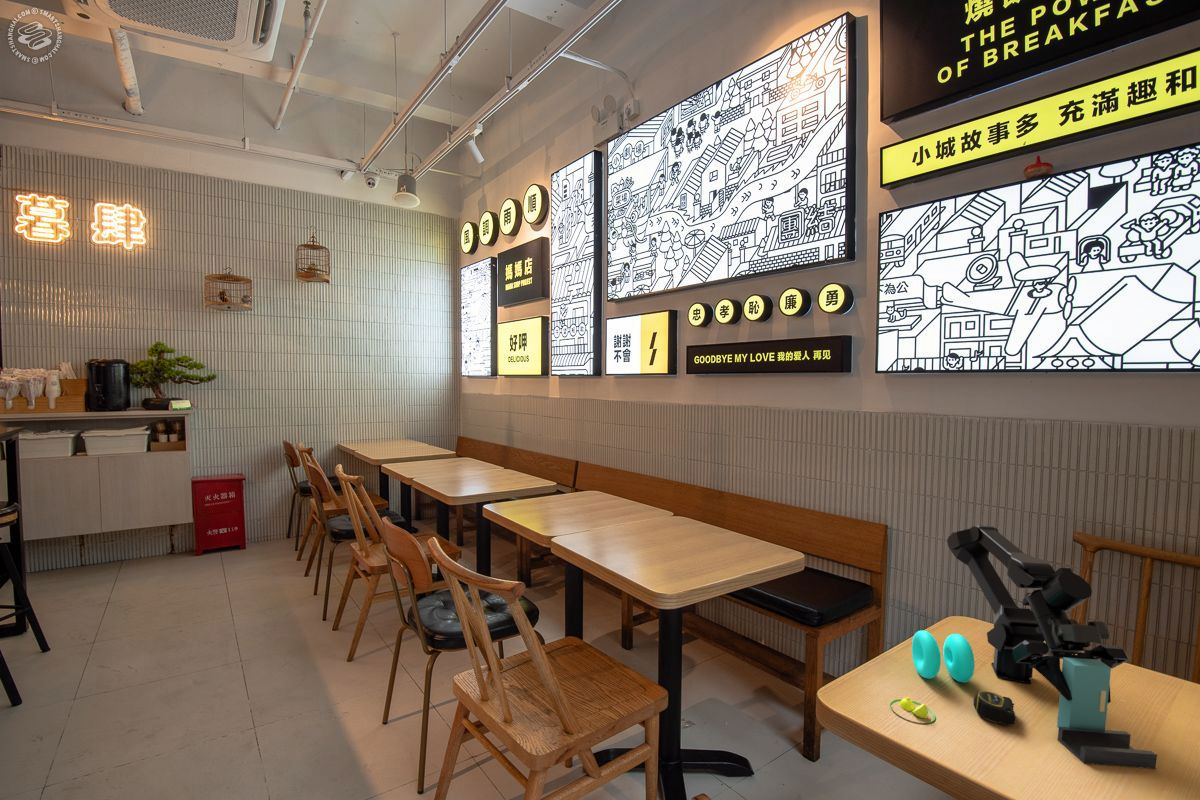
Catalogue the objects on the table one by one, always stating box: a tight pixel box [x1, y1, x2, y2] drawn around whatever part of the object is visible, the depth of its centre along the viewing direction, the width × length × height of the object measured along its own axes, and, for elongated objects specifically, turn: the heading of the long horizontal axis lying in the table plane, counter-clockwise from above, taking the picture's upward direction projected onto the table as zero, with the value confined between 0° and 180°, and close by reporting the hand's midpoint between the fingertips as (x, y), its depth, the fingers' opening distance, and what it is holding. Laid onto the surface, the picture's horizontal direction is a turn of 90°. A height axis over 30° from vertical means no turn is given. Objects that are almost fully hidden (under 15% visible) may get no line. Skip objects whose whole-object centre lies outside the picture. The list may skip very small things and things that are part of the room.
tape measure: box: [973, 690, 1017, 726], centre depth 116 cm, size 7×7×4 cm
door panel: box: [1056, 657, 1112, 730], centre depth 111 cm, size 3×6×14 cm, turn 86°
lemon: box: [890, 696, 936, 724], centre depth 116 cm, size 8×8×3 cm
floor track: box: [1057, 727, 1158, 770], centre depth 105 cm, size 6×12×3 cm, turn 86°
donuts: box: [911, 630, 975, 683], centre depth 130 cm, size 10×10×10 cm
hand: (1089, 701), depth 109 cm, fingers closed on door panel, 6 cm apart
